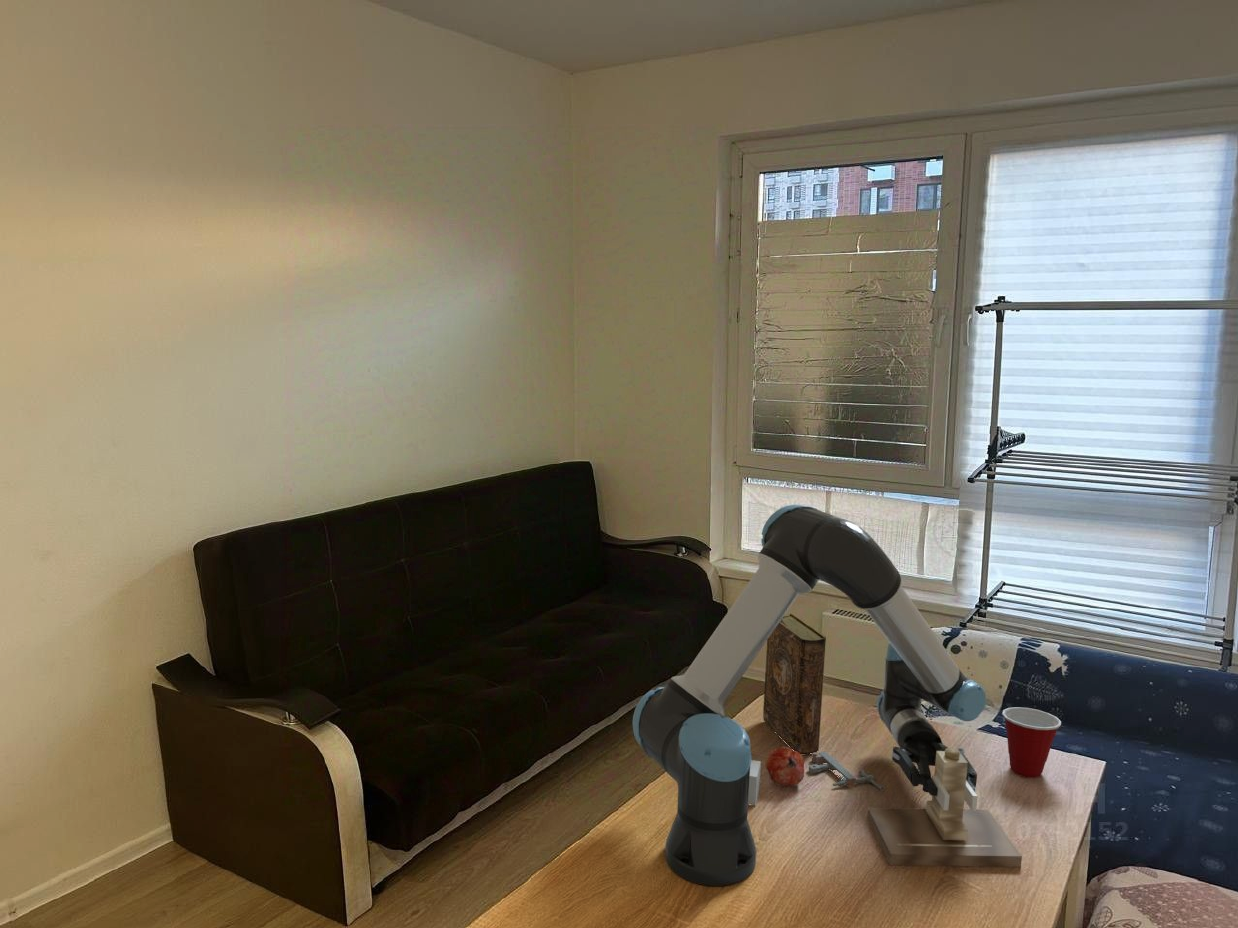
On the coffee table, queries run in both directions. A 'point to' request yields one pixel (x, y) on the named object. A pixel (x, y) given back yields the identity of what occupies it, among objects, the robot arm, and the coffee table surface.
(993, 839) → the grey flat plate
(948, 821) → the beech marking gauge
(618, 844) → the coffee table surface
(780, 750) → the pomegranate
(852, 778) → the clamp
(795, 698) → the book
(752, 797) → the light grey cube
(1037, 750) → the plastic cup
